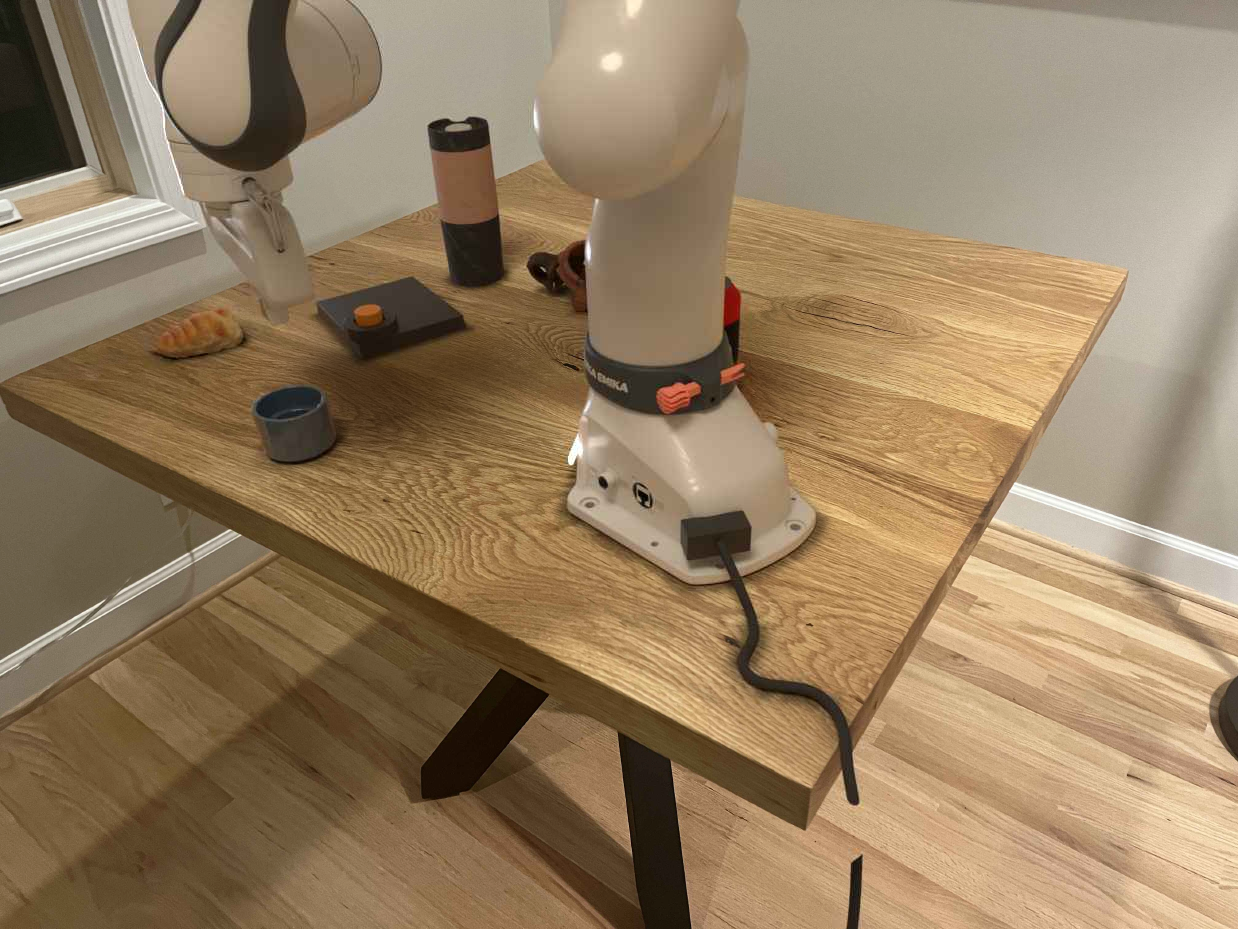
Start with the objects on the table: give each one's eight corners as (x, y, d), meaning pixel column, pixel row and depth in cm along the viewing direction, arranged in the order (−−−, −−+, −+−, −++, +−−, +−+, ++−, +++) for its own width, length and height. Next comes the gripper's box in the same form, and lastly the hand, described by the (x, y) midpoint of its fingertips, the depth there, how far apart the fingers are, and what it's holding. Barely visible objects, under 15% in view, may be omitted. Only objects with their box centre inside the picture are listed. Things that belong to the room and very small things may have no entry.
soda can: (677, 412, 91) (678, 303, 85) (655, 377, 97) (654, 273, 91) (747, 400, 93) (753, 292, 86) (721, 367, 99) (725, 263, 92)
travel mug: (477, 292, 117) (457, 134, 106) (437, 280, 121) (413, 126, 110) (517, 273, 122) (501, 120, 111) (477, 261, 126) (458, 113, 115)
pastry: (168, 368, 103) (157, 338, 101) (152, 348, 107) (141, 319, 105) (249, 343, 108) (240, 313, 105) (230, 325, 112) (221, 296, 110)
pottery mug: (615, 281, 120) (629, 239, 113) (609, 338, 116) (623, 298, 109) (526, 262, 119) (534, 219, 111) (517, 320, 114) (525, 278, 107)
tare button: (387, 323, 104) (384, 310, 103) (362, 330, 102) (359, 317, 101) (377, 314, 106) (375, 301, 105) (353, 321, 104) (350, 308, 104)
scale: (466, 330, 108) (463, 303, 106) (360, 363, 102) (354, 335, 100) (414, 289, 119) (410, 264, 117) (315, 316, 113) (309, 290, 111)
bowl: (346, 450, 88) (336, 405, 85) (277, 474, 85) (263, 429, 82) (323, 420, 92) (312, 377, 90) (256, 442, 89) (243, 398, 86)
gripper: (310, 188, 69) (348, 351, 76) (241, 134, 83) (279, 276, 91) (226, 206, 66) (274, 372, 74) (169, 147, 80) (214, 292, 88)
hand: (276, 318), depth 82 cm, fingers closed
